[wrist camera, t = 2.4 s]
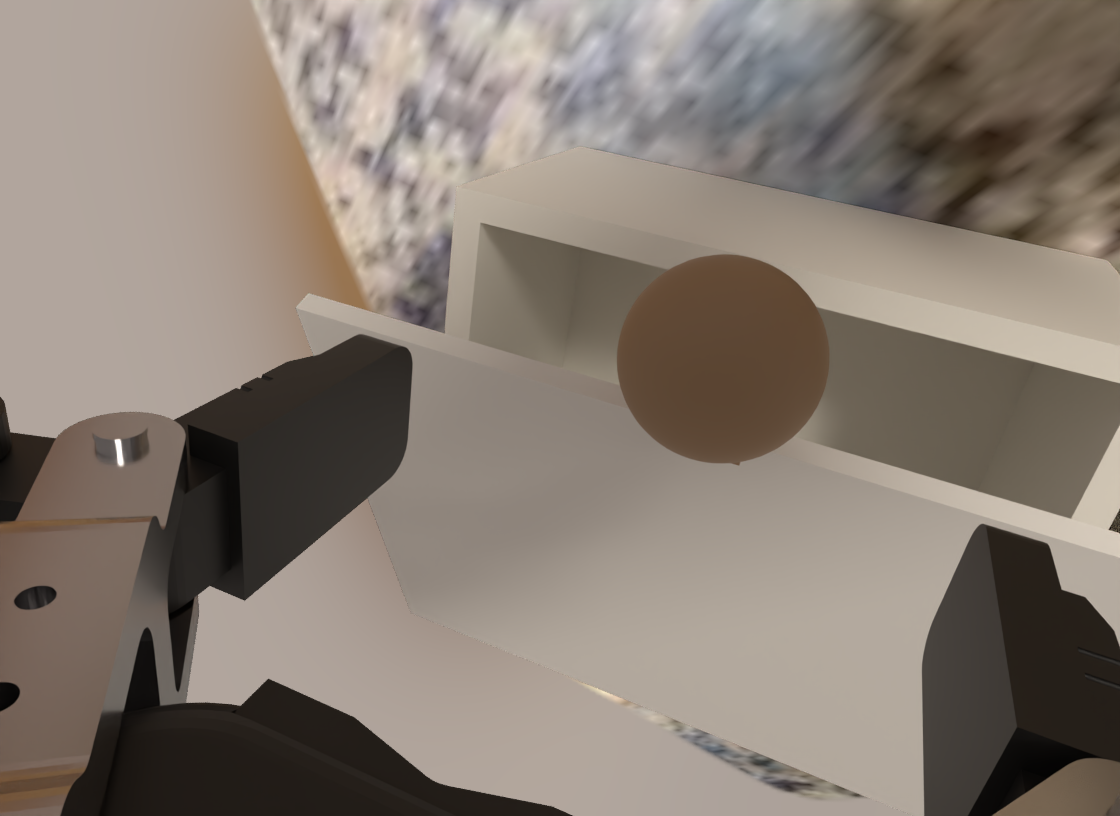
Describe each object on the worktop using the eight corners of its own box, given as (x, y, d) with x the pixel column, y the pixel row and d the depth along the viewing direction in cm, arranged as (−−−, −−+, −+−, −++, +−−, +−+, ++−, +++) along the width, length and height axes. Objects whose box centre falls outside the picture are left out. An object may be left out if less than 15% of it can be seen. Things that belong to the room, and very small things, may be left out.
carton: (580, 146, 38) (456, 186, 27) (1107, 260, 32) (1198, 365, 22) (531, 476, 46) (422, 601, 36) (943, 615, 40) (953, 813, 30)
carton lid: (271, 103, 18) (150, 205, 16) (1491, 378, 12) (1576, 605, 10) (426, 584, 36) (380, 666, 34) (961, 793, 30) (948, 909, 28)
